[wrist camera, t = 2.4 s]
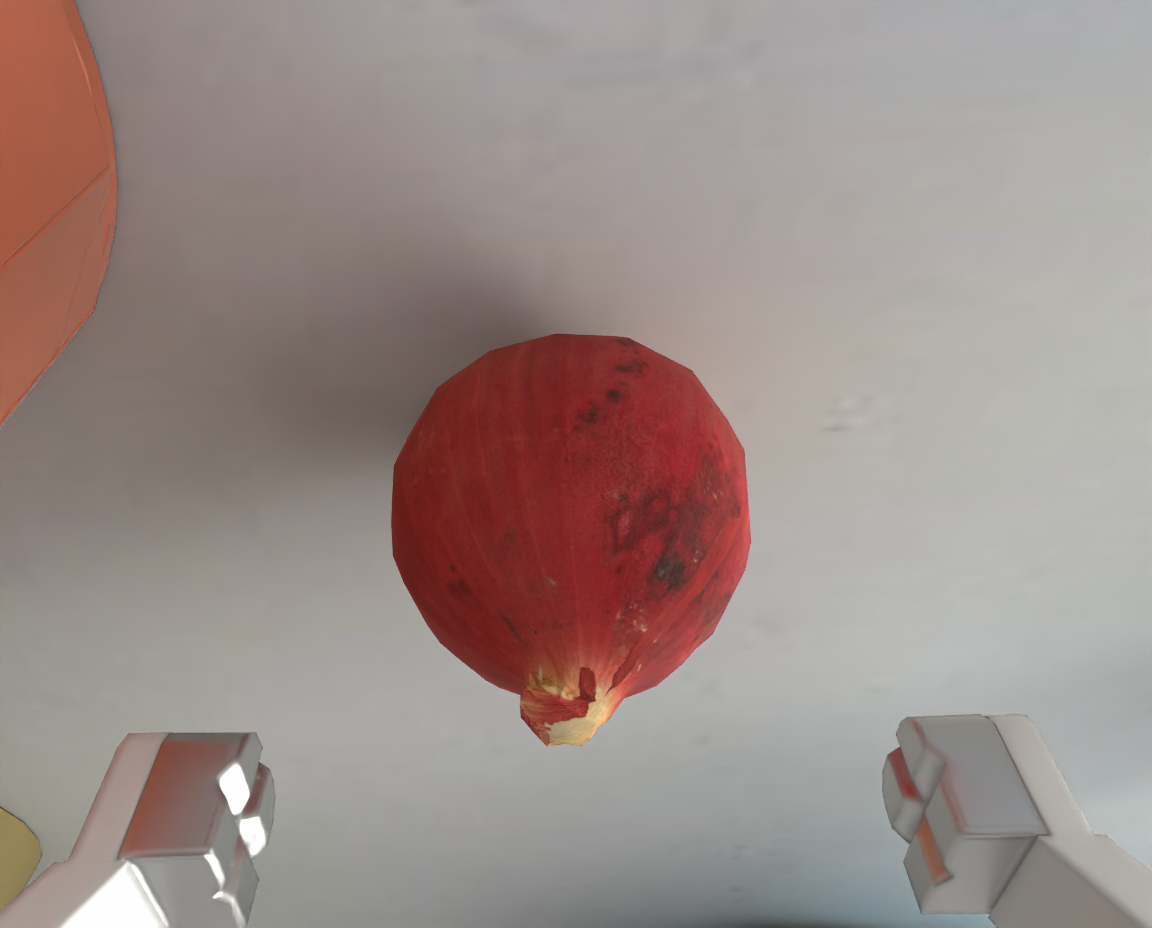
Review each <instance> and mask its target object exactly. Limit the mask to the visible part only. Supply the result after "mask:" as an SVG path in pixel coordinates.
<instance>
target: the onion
mask: <svg viewBox="0 0 1152 928" xmlns="http://www.w3.org/2000/svg"><path fill="white" fill-rule="evenodd" d="M391 526H392V546H393V557H394V559H395V562H396V564H397V567H398V569H399V572H400V574H401V577H402V579H403V582H404V584H405V586H406V587H407V589H408V591H409V593H410V595H411V596H412V598H413V600H414V602H415V604H416V606H417V607H418V609H419V611H420V613H421V615H422V616H423V618H424V620H425V622H426V624H427V625H428V627H429V628H430V629H431V631H432V632H433V634H434V635H435V636H436V638H437V639H438V640H439V642H440V643H441V644H442V645H444V646H445V647H446V648H447V649H448V650H449V651H450V652H452V653H453V654H454V655H455V656H456V657H457V658H459V659H460V660H461V661H462V662H464V663H465V664H466V665H467V666H469V667H470V668H471V669H473V670H474V671H475V672H476V673H478V674H479V675H480V676H481V677H483V678H484V679H485V680H486V681H488V682H490V683H492V684H494V685H496V686H497V687H499V688H502V689H505V690H508V691H510V692H513V693H516V694H519V695H521V701H520V712H521V718H522V719H523V720H524V721H525V723H526V724H527V725H528V726H529V727H530V729H531V730H532V731H533V732H534V733H535V734H536V735H537V736H538V738H539V739H540V740H541V741H542V742H543V743H544V744H545V745H546V746H554V745H560V744H570V745H580V746H582V745H583V744H585V743H586V742H587V741H589V740H590V739H591V737H592V736H593V734H594V733H595V732H596V730H597V729H598V727H599V726H601V725H602V724H603V723H605V722H606V721H607V720H608V719H609V718H610V717H611V716H612V714H613V713H614V711H615V710H616V709H617V707H618V706H619V704H620V703H621V702H622V700H623V699H624V698H626V697H629V696H632V695H635V694H637V693H640V692H643V691H645V690H647V689H650V688H652V687H655V686H656V685H658V684H659V683H660V682H661V681H663V680H664V679H665V678H666V677H668V676H669V675H670V674H671V673H672V672H673V671H674V670H676V669H677V668H678V667H679V666H680V665H682V663H683V662H684V661H685V660H686V659H687V658H688V657H689V656H690V654H691V653H692V652H693V651H694V650H695V649H696V648H697V647H698V646H699V645H700V644H702V643H703V642H704V641H705V640H706V639H708V638H709V637H710V636H711V635H712V634H713V632H714V631H715V629H716V627H717V625H718V623H719V621H720V619H721V617H722V615H723V613H724V611H725V609H726V607H727V605H728V603H729V601H730V599H731V597H732V595H733V593H734V591H735V589H736V587H737V585H738V583H739V581H740V579H741V577H742V575H743V573H744V571H745V568H746V563H747V558H748V553H749V549H750V544H751V533H750V520H749V506H748V493H747V480H746V466H745V453H744V449H743V447H742V445H741V444H740V442H739V440H738V438H737V436H736V434H735V433H734V431H733V429H732V427H731V425H730V424H729V422H728V420H727V419H726V417H725V416H724V415H723V413H722V412H721V410H720V409H719V408H718V406H717V405H716V403H715V402H714V401H713V399H712V398H711V396H710V395H709V394H708V392H707V391H706V389H705V388H704V387H703V385H702V384H701V382H700V381H699V380H698V378H697V377H696V375H695V374H694V373H693V371H692V370H690V369H688V368H686V367H684V366H682V365H680V364H678V363H676V362H674V361H673V360H671V359H669V358H667V357H665V356H663V355H661V354H659V353H657V352H655V351H653V350H651V349H649V348H647V347H645V346H643V345H641V344H639V343H637V342H635V341H634V340H632V339H630V338H626V337H617V336H596V335H572V334H554V335H550V336H546V337H542V338H538V339H534V340H530V341H526V342H523V343H519V344H515V345H511V346H507V347H503V348H499V349H495V350H492V351H489V352H488V353H486V354H485V355H483V356H482V357H480V358H479V359H478V360H476V361H475V362H473V363H472V364H470V365H469V366H468V367H466V368H465V369H463V370H462V371H460V372H459V373H458V374H456V375H455V376H453V377H452V378H450V379H449V380H448V381H446V382H445V383H443V384H442V385H440V386H439V387H438V388H437V390H436V391H435V393H434V395H433V396H432V398H431V399H430V401H429V403H428V404H427V406H426V408H425V409H424V411H423V413H422V414H421V416H420V418H419V419H418V421H417V423H416V424H415V426H414V427H413V429H412V431H411V432H410V434H409V436H408V438H407V440H406V442H405V444H404V446H403V448H402V450H401V452H400V454H399V456H398V458H397V461H396V463H395V465H394V473H393V493H392V517H391Z"/></svg>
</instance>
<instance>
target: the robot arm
mask: <svg viewBox="0 0 1152 928" xmlns="http://www.w3.org/2000/svg"><path fill="white" fill-rule="evenodd" d="M896 736H897V739H898V742H899V744H900V747H898V748H897V749H895V750H894V751H892V752H891V753H890V754H888V755H887V758H886V761H885V765H884V768H883V771H882V792H883V797H884V803H885V808H886V811H887V814H888V818H889V821H890V824H891V827H892V829H894V830H895V831H896V832H897V833H898V834H899V835H900V836H901V837H902V838H903V839H904V840H905V841H906V842H908V843H909V844H910V845H909V848H908V850H907V853H906V856H905V858H904V861H903V863H904V865H905V868H906V871H907V874H908V877H909V880H910V883H911V886H912V889H913V891H914V894H915V897H916V900H917V903H918V906H919V909H920V912H921V914H990V915H989V917H988V918H989V919H990V920H991V921H992V922H993V923H994V924H995V925H996V927H997V928H1152V871H1151V870H1149V869H1148V868H1147V867H1146V866H1144V865H1143V864H1142V863H1141V862H1139V861H1138V860H1137V859H1136V858H1134V857H1133V856H1132V855H1131V854H1129V853H1128V852H1127V851H1126V850H1124V849H1123V848H1122V847H1121V846H1119V845H1118V844H1117V843H1116V842H1114V841H1113V840H1112V839H1111V838H1109V837H1108V836H1107V835H1100V834H1093V832H1092V830H1091V828H1090V826H1089V825H1088V823H1087V821H1086V819H1085V817H1084V815H1083V813H1082V812H1081V810H1080V808H1079V806H1078V804H1077V802H1076V800H1075V798H1074V797H1073V795H1072V793H1071V791H1070V789H1069V787H1068V785H1067V784H1066V782H1065V780H1064V778H1063V776H1062V774H1061V772H1060V770H1059V769H1058V767H1057V765H1056V763H1055V761H1054V759H1053V757H1052V756H1051V754H1050V752H1049V750H1048V748H1047V746H1046V744H1045V742H1044V741H1043V739H1042V737H1041V735H1040V733H1039V731H1038V729H1037V728H1036V726H1035V724H1034V722H1033V721H1032V720H1030V719H1029V718H1028V717H1027V716H1026V715H1021V714H1007V715H983V716H982V715H981V714H973V715H947V716H921V717H907V718H905V719H904V720H902V721H901V722H900V724H899V727H898V729H897V732H896ZM262 749H263V747H262V745H261V742H260V740H259V737H258V735H257V733H256V732H223V733H173V732H170V733H129V734H128V735H127V736H126V738H125V739H124V740H123V741H122V742H121V743H120V745H119V746H118V747H117V749H116V752H115V754H114V756H113V759H112V761H111V763H110V765H109V768H108V770H107V772H106V775H105V777H104V779H103V781H102V784H101V786H100V788H99V791H98V793H97V795H96V798H95V800H94V802H93V804H92V807H91V809H90V811H89V814H88V816H87V818H86V820H85V823H84V825H83V827H82V830H81V832H80V834H79V836H78V839H77V841H76V843H75V846H74V848H73V850H72V852H71V855H70V857H69V859H68V861H66V862H55V863H53V864H52V865H51V866H50V867H49V868H48V869H47V870H46V871H44V872H43V873H42V874H41V875H40V876H39V877H38V878H37V879H36V880H34V881H33V882H32V883H31V884H30V885H29V886H28V887H27V888H25V889H24V890H23V891H22V892H21V893H20V894H19V895H18V896H16V897H15V898H14V899H13V900H12V901H11V902H10V903H9V904H7V905H6V906H5V907H4V908H3V909H2V910H1V911H0V928H247V924H248V920H249V916H250V912H251V908H252V904H253V901H254V897H255V893H256V889H257V885H258V881H259V878H258V875H257V873H256V870H255V868H254V865H253V863H252V860H253V859H254V858H255V857H256V856H257V855H258V854H259V853H260V852H261V851H262V850H263V849H264V848H265V847H266V846H267V845H268V842H269V837H270V833H271V829H272V825H273V818H274V807H275V789H274V780H273V777H272V774H271V771H270V769H269V768H268V767H266V766H264V765H263V764H261V763H260V762H259V760H260V756H261V752H262Z"/></svg>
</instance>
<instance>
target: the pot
mask: <svg viewBox="0 0 1152 928" xmlns="http://www.w3.org/2000/svg"><path fill="white" fill-rule="evenodd" d="M117 181H118V177H117V168H116V158H115V149H114V139H113V130H112V122H111V118H110V114H109V110H108V106H107V101H106V97H105V93H104V89H103V85H102V80H101V76H100V72H99V68H98V64H97V61H96V58H95V56H94V53H93V50H92V47H91V45H90V42H89V39H88V36H87V34H86V31H85V28H84V25H83V23H82V20H81V17H80V14H79V12H78V9H77V6H76V3H75V1H74V0H0V430H1V429H2V427H3V426H4V425H5V424H6V422H7V421H8V420H9V419H10V417H11V416H12V415H13V414H14V413H15V411H16V410H17V409H18V408H19V406H20V405H21V404H22V403H23V401H24V400H25V399H26V398H27V396H28V395H29V394H30V392H31V391H32V390H33V389H34V387H35V386H36V385H37V383H38V382H39V381H40V380H41V378H42V377H43V376H44V374H45V373H46V372H47V370H48V369H49V368H50V367H51V365H52V364H53V363H54V361H55V360H56V359H57V358H58V356H59V355H60V354H61V352H62V351H63V350H64V349H65V348H66V346H67V345H68V344H69V343H70V341H71V340H72V339H73V337H74V336H75V334H76V333H77V332H78V330H79V329H80V328H81V327H82V325H83V324H84V323H85V321H86V320H87V319H88V317H89V316H90V315H91V314H92V312H93V311H94V310H95V308H96V305H95V304H96V303H97V296H98V291H99V289H100V286H101V284H102V281H103V279H104V276H105V274H106V271H107V267H108V262H109V257H110V252H111V248H112V243H113V238H114V233H115V228H116V207H117Z"/></svg>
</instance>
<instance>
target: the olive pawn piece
mask: <svg viewBox="0 0 1152 928" xmlns="http://www.w3.org/2000/svg"><path fill="white" fill-rule="evenodd" d="M41 856H42V854H41V850H40V846H39V842H38V839H37V838H36V837H35V836H34V834H33V833H32V832H31V831H30V830H29V829H28V828H27V826H26V825H25V824H24V823H23V822H21V821H20V820H18V819H17V818H15V817H14V816H12V815H10V814H9V813H7V812H6V811H4V810H3V809H1V808H0V911H1V910H2V909H3V908H4V907H5V906H6V905H7V904H9V903H10V902H11V901H12V900H13V899H14V898H15V897H16V896H18V895H19V894H20V893H21V892H22V890H23V889H24V887H25V886H26V884H27V882H28V881H29V879H30V877H31V876H32V874H33V873H34V871H35V869H36V867H37V865H38V863H39V860H40V858H41Z"/></svg>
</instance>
